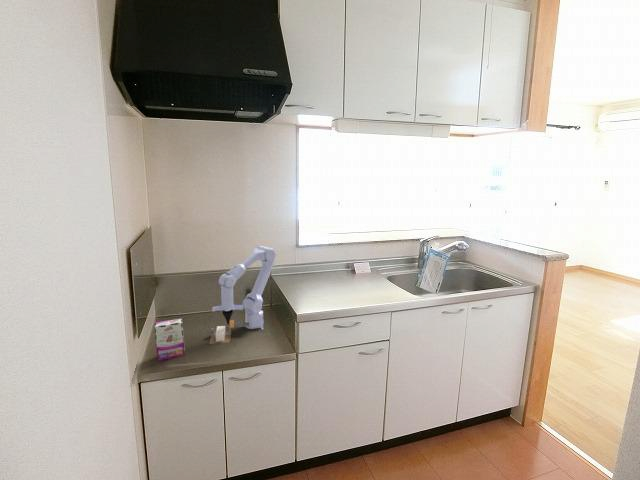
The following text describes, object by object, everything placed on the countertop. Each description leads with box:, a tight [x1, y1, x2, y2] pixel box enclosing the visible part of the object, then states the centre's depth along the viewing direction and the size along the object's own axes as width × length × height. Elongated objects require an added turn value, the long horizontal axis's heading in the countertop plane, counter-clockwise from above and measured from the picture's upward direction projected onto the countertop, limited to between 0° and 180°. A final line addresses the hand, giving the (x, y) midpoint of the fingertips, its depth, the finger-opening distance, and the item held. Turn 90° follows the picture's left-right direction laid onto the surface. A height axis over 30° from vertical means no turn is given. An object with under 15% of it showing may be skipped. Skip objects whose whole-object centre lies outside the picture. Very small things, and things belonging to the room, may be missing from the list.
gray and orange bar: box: [229, 319, 249, 328], centre depth 167 cm, size 10×2×3 cm, turn 102°
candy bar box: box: [154, 317, 186, 362], centre depth 147 cm, size 11×5×16 cm, turn 114°
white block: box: [215, 325, 227, 342], centre depth 164 cm, size 4×8×4 cm, turn 12°
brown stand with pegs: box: [209, 326, 232, 345], centre depth 164 cm, size 10×11×5 cm
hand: (228, 323), depth 166 cm, fingers closed
